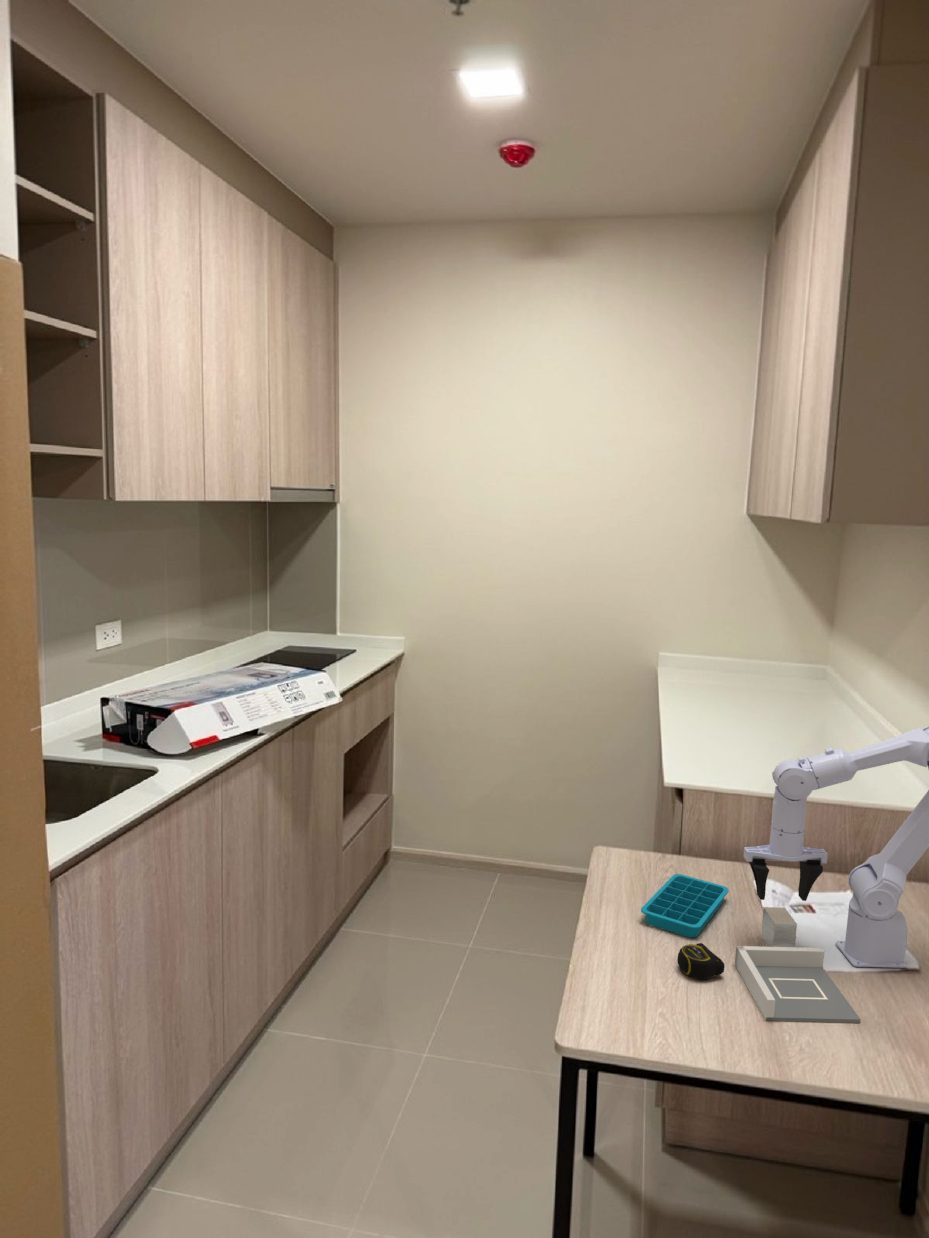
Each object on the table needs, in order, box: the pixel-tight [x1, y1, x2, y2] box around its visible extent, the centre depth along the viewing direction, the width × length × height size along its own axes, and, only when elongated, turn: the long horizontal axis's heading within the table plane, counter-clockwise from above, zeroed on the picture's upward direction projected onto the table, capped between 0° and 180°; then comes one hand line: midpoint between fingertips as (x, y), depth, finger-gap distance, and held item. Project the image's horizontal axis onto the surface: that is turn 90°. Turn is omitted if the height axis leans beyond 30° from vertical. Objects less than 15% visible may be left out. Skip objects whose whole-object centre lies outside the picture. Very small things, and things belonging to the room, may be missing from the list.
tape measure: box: [676, 942, 726, 980], centre depth 151 cm, size 7×7×4 cm
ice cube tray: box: [640, 873, 730, 939], centre depth 172 cm, size 12×20×3 cm, turn 147°
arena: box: [734, 945, 862, 1024], centre depth 145 cm, size 15×16×4 cm
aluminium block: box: [760, 906, 798, 947], centre depth 160 cm, size 4×6×6 cm, turn 0°
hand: (781, 897), depth 159 cm, fingers open, 7 cm apart
